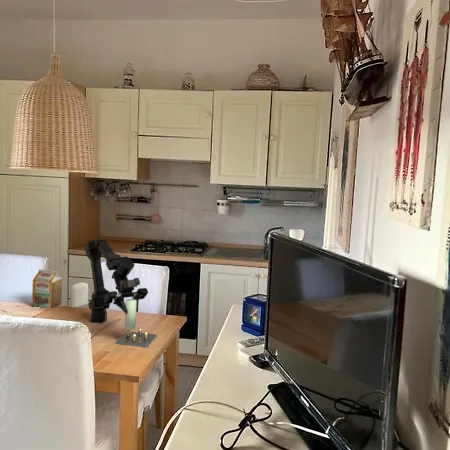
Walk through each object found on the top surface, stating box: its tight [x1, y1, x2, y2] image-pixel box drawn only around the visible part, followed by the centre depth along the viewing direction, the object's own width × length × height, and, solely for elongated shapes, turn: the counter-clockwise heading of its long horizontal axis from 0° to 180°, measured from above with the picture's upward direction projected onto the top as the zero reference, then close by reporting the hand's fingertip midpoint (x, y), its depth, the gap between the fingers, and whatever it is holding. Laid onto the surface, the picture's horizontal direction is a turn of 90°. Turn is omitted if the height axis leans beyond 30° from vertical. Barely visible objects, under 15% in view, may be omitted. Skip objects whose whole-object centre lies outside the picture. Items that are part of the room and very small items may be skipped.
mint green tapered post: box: [124, 298, 137, 330], centre depth 204 cm, size 4×4×12 cm
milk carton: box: [31, 269, 63, 310], centre depth 250 cm, size 11×11×19 cm
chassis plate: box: [115, 327, 158, 348], centre depth 208 cm, size 14×14×4 cm
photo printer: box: [69, 282, 89, 309], centre depth 254 cm, size 10×4×12 cm, turn 148°
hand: (132, 312), depth 203 cm, fingers closed on mint green tapered post, 4 cm apart
